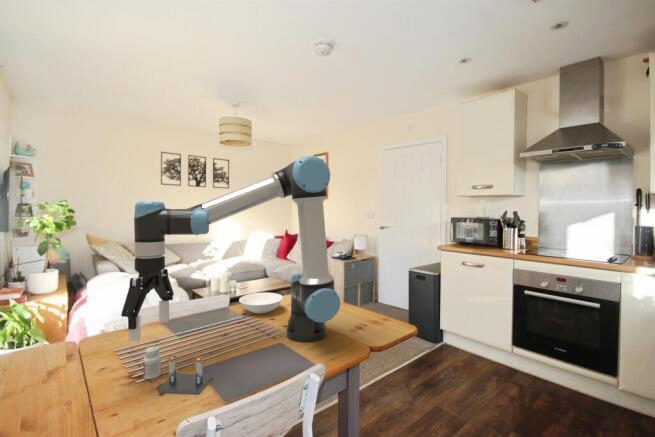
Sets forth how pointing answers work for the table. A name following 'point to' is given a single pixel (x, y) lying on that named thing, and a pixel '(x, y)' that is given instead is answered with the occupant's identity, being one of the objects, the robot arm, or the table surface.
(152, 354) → the pill bottle
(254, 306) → the bowl
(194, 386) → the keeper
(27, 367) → the table surface
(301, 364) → the table surface
